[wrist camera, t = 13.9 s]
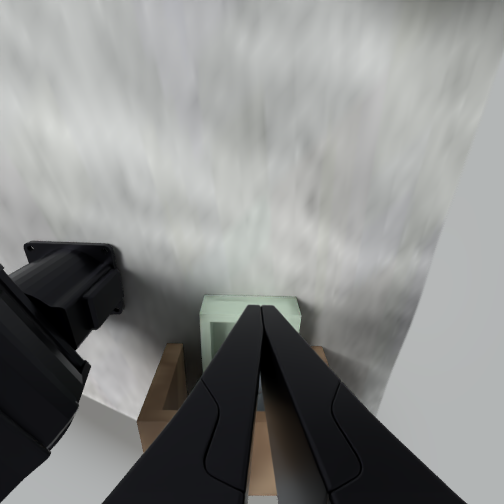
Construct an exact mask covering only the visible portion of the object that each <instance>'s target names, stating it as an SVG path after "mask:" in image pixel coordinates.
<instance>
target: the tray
mask: <svg viewBox="0 0 504 504" xmlns="http://www.w3.org/2000/svg"><path fill="white" fill-rule="evenodd" d="M249 304H252V305H260V306H262V305H274V306H275V307H276V308H277V309H278V310H279V312H280V313H281V314H282V315H283V316H284V317H285V318H286V319H287V321H288V322H289V323H290V324H291V325H292V326H293V327H294V328H295V330H296V331H297V332H298V333H299V329H300V322H301V313H300V309H299V306H298V303H297V300H296V297H280V296H236V295H204V299H203V302H202V306H201V310H200V313H199V315H200V333H201V351H202V369H203V373H204V371H205V370H206V368H207V367H208V365H209V364H210V362H211V360H212V359H213V357H214V356H215V354H216V353H217V351H218V350H219V348H220V347H221V345H222V344H223V342H224V340H225V339H226V337H227V336H228V334H229V333H230V331H231V330H232V328H233V327H234V325H235V323H236V322H237V320H238V319H239V317H240V316H241V314H242V313H243V311H244V310H245V308H246V307H247V305H249Z"/></svg>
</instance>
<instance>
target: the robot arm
mask: <svg viewBox="0 0 504 504" xmlns="http://www.w3.org/2000/svg"><path fill="white" fill-rule="evenodd" d="M31 246H32V247H33V248H34V249H33V248H32V247H31ZM104 249H106V250H107V251H108V252H105V251H104ZM24 250H25V253H26V256H27V259H28V262H29V264H27V265H25V266H23V267H22V268H20V269H18V270H16V271H15V272H13V273H11V274H9V275H7V274H6V273H5V271H4V270H3V269H4V267H3V266H2V265H1V264H0V503H1V502H2V501H3V499H5V497H7V496H8V494H9V493H10V492H11V491H12V490H13V489H14V488H15V487H16V486H17V485H18V484H19V483H20V482H21V481H22V480H23V479H24V478H25V477H27V476H28V475H29V474H30V473H31V472H32V471H34V470H35V469H36V468H37V467H38V466H40V465H41V464H42V463H43V462H44V461H45V460H47V459H48V457H49V456H50V454H51V451H50V450H51V449H52V448H53V447H54V446H55V445H56V444H57V443H58V441H59V440H60V439H61V438H62V436H63V435H64V434H65V432H66V431H67V429H68V427H69V426H70V424H71V422H72V420H73V418H74V415H75V414H76V412H77V410H78V407H79V400H80V397H81V395H82V392H83V389H84V386H85V383H86V380H87V377H88V374H89V371H90V368H91V365H90V364H89V363H88V362H87V361H86V360H83V359H82V358H81V357H80V356H79V354H78V353H77V352H76V351H75V350H77V348H78V347H79V346H80V345H81V344H82V342H83V341H84V340H85V339H86V337H87V336H88V335H89V334H90V332H91V331H92V330H97V329H98V328H100V327H101V325H102V324H103V323H104V321H105V320H106V319H107V318H108V316H109V315H110V314H121V313H122V312H123V310H124V302H123V297H124V293H123V288H122V283H121V277H120V272H119V270H118V269H117V266H116V261H115V256H114V250H113V248H112V246H111V245H109V244H106V243H78V242H51V241H30V242H28V243H26V244H24ZM116 307H117V308H119V309H117V308H116ZM260 378H261V387H262V394H263V401H264V407H265V414H266V421H267V428H268V435H269V442H270V449H271V456H272V463H273V469H274V476H275V483H276V490H277V497H278V504H467V503H466V502H465V501H463V500H462V499H461V498H460V497H459V496H458V495H457V494H456V493H454V492H453V491H452V490H451V489H450V488H449V487H448V486H447V485H446V484H445V483H444V482H443V481H442V480H441V479H440V478H439V477H438V476H436V475H435V474H434V473H433V472H432V471H431V470H430V469H429V468H428V467H427V466H426V465H425V464H424V463H423V462H422V461H420V459H418V458H417V457H416V456H415V455H414V454H413V453H412V452H411V451H410V450H409V449H408V448H407V447H406V446H405V445H404V444H402V443H401V442H400V441H399V440H398V439H397V438H396V437H395V436H394V435H393V434H392V433H391V432H390V431H389V430H388V429H387V428H386V427H385V426H384V425H383V424H382V423H380V421H379V420H378V419H377V418H376V417H375V416H374V415H373V414H372V413H371V412H370V411H369V410H368V409H367V408H366V407H365V406H364V405H363V404H362V403H361V402H360V401H359V400H358V399H357V397H356V396H355V395H354V394H353V393H352V392H351V391H350V390H349V389H348V388H347V386H346V385H345V384H344V383H343V382H341V380H340V379H339V378H338V377H337V375H336V374H335V373H334V372H333V371H332V370H331V369H330V368H329V366H328V365H327V364H326V363H325V362H324V361H323V360H322V359H321V358H320V356H319V355H318V354H317V353H316V352H315V351H314V350H313V349H312V347H311V346H310V345H309V344H308V343H307V342H306V341H305V340H304V338H303V337H302V336H301V335H300V334H299V333H298V332H297V331H296V330H295V328H294V327H293V326H292V325H291V324H290V323H289V322H288V321H287V319H286V318H285V317H284V316H283V315H282V314H281V313H280V312H279V310H278V309H277V308H276V307H275V306H274V305H262V306H260V305H252V304H249V305H247V307H246V308H245V310H244V311H243V313H242V314H241V316H240V317H239V319H238V320H237V322H236V323H235V325H234V327H233V328H232V330H231V331H230V333H229V334H228V336H227V337H226V339H225V340H224V342H223V344H222V345H221V347H220V348H219V350H218V351H217V353H216V354H215V356H214V357H213V359H212V360H211V362H210V364H209V365H208V367H207V368H206V370H205V371H204V373H203V374H202V376H201V377H200V380H198V382H197V383H196V385H195V386H194V388H193V390H192V391H191V393H190V394H189V395H188V397H187V398H186V400H185V401H184V403H183V404H182V406H181V407H180V408H179V410H178V411H177V412H176V414H175V415H174V416H173V418H172V419H171V420H170V421H169V423H168V424H167V425H166V426H165V428H164V429H163V430H162V432H161V433H160V434H159V435H158V436H157V438H156V439H155V440H154V441H153V443H152V444H151V445H150V446H149V447H148V449H147V450H146V451H145V452H144V453H143V455H142V456H141V457H140V458H139V459H138V461H137V462H136V463H135V464H134V466H133V467H132V468H131V469H130V470H129V472H128V473H127V474H126V475H125V476H124V478H123V479H122V480H121V481H120V482H119V484H118V485H117V486H116V487H115V489H114V490H113V491H112V492H111V493H110V495H109V496H108V497H107V498H106V499H105V501H104V502H103V503H102V504H248V494H249V484H250V473H251V463H252V453H253V443H254V433H255V423H256V413H257V402H258V392H259V382H260ZM340 382H341V383H340Z"/></svg>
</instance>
